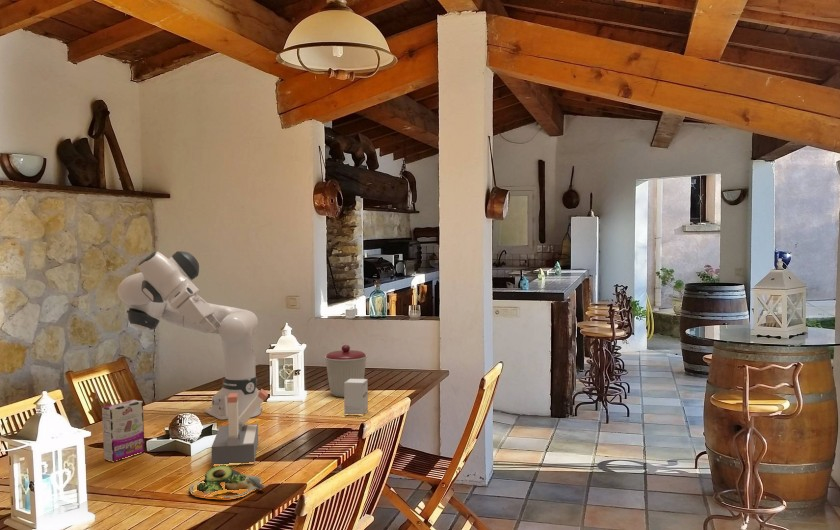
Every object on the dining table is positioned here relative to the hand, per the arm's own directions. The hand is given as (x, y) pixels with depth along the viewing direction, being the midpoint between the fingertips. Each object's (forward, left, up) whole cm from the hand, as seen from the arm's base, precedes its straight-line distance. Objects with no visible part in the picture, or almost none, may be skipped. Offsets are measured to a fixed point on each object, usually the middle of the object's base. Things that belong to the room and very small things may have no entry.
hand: (216, 329), depth 209 cm
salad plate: (+25, -15, -40) cm, 49 cm away
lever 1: (+8, 0, -32) cm, 33 cm away
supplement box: (-2, +61, -39) cm, 73 cm away
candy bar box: (-22, -19, -39) cm, 49 cm away
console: (+3, +4, -39) cm, 39 cm away
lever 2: (-3, +9, -32) cm, 34 cm away
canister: (-27, +80, -39) cm, 94 cm away
